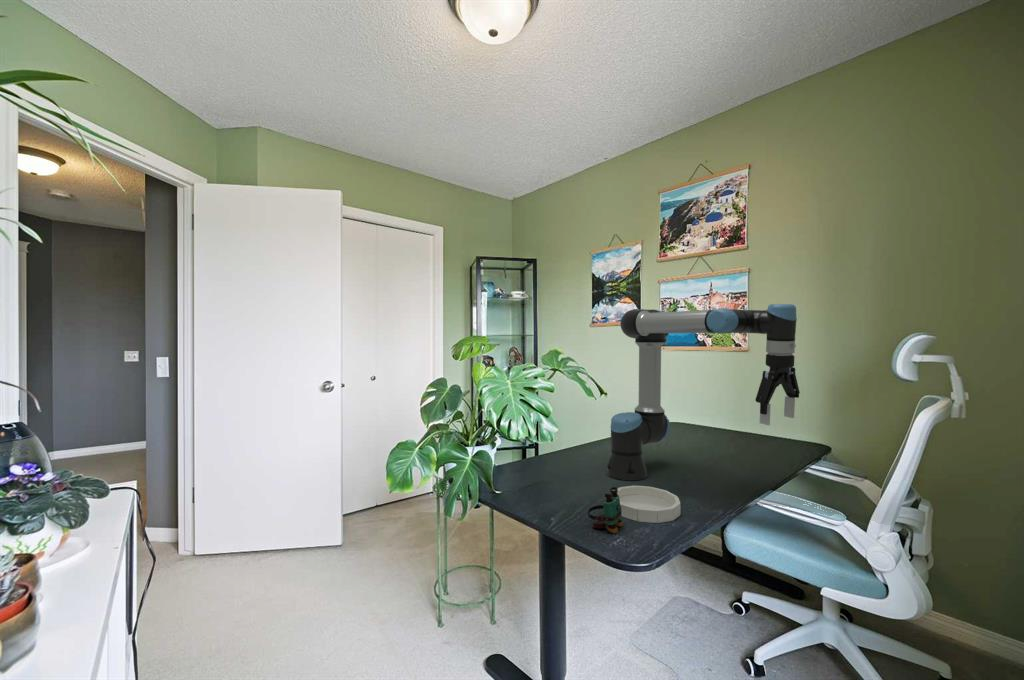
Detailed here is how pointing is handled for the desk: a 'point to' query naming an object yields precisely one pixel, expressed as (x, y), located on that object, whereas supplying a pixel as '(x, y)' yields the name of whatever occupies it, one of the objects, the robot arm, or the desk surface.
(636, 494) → the dish
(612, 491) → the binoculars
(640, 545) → the desk surface
